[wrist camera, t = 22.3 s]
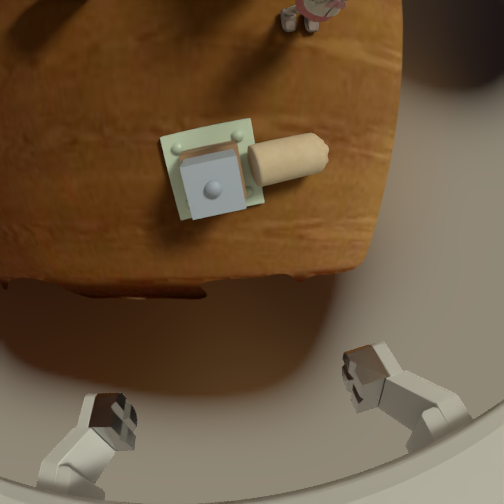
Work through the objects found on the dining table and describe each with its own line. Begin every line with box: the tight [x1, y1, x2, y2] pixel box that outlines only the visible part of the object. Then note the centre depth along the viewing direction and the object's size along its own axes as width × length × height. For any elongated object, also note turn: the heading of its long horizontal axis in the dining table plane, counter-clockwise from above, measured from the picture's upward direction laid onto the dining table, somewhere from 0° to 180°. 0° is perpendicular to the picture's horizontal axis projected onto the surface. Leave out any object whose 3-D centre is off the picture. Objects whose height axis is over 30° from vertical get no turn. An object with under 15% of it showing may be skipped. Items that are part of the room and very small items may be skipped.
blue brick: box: [180, 149, 247, 220], centre depth 34 cm, size 6×6×5 cm
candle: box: [247, 133, 329, 187], centre depth 38 cm, size 6×6×10 cm
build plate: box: [160, 118, 265, 220], centre depth 40 cm, size 12×12×1 cm
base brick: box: [179, 140, 247, 198], centre depth 38 cm, size 7×7×4 cm
